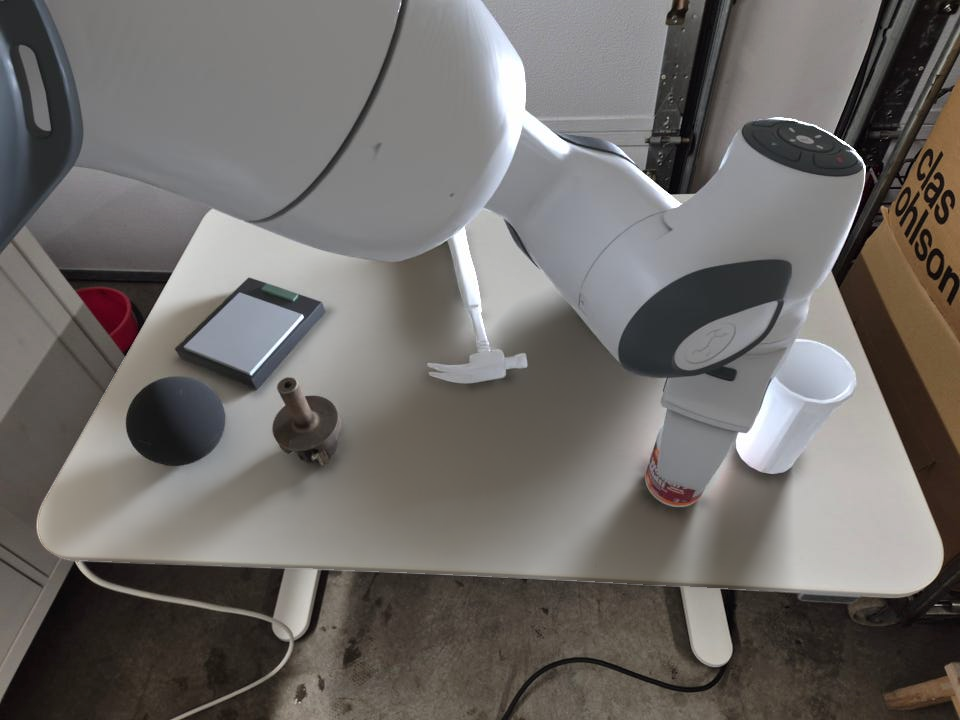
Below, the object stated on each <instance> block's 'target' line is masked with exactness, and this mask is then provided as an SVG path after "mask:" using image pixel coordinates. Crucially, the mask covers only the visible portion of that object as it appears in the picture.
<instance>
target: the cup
mask: <svg viewBox="0 0 960 720" xmlns="http://www.w3.org/2000/svg"><path fill="white" fill-rule="evenodd" d="M857 386H858V382H857V377H856V371H855V368H853V366H852V365H851V363H850V362H849V360H848V359H847V357H846V356H844V355H843V354H841V353H840V352H839V351H838V350H836V349H835V348H833V347H832V346H830V345H827V344H825V343H822V342H819V341H817V340H813V339H812V340H811V339H803V338H796V340H795V341H794V343H793V345H792V347H791V349H790V351H789V353H788V355H787V357H786V359H785V361H784V363H783V364H782V366H781V368H780V370H779V371H778V373H777V374H776V376H775V377H774V378H773V380H772V381H771V382H770V384H769V386H768V389H767V391H766V394H765V397H764V400H763V403H762V406H761V408H760V411H759V413H758V415H757V417H756V420H755V422H754V424H753V426H752V428H751V430H750V431H749V432H748V433H741V432H738V435H737V437H736V439H735V449H736V452H737V453H738V455H739V458H740V459H741V460H742V461H743V462H744V463H745V464H746V465H747V466H749V467H750V468H751V469H754V470H756V471H758V472H760V473H764V474H771V475H776V474H781V473H782V474H783V473H786V471H789V469H791V468H792V467H793V466H794V464H795V462H796V461H797V460H798V458H799V457H800V456H801V454H802V453H803V452H804V450H805V449H806V447H807V446H808V445H809V444H810V443H811V441H812V440H813V438H814V437H815V436H816V434H817V433H818V432H819V431H820V429H821V428H822V427H823V425H824V424H825V423H826V422H827V420H828V419H829V418H830V417H831V415H832V414H833V412H834V411H835V410H837V409H839V408H840V407H841V406H843V405H844V404H846V403H847V402H848V401H849V400H850V399H851V398H852V397H853V396H854V393H855V390H856V389H857Z"/></svg>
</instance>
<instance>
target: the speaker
mask: <svg viewBox="0 0 960 720" xmlns="http://www.w3.org/2000/svg"><path fill="white" fill-rule="evenodd" d="M226 419H227V418H226V410H225V407H224V404H223V402H222V400H221V398H220V396H219V395H218V393H217V392H216V391H215V390H214V389H213V388H212V387H211V386H210V385H208V384H206V382H205V383H204V382H203V381H201V380H199V379H196V378H194V377H189V376H185V375H183V376H182V375H173V376H172V375H171V376H166V377H162V378H159V379H155V380H154V381H152V382H150V383H148V384H147V385H145V386H144V387H143V388H141V389H140V390H139V391H138V392H137V393H136V395H135V396H134V397H133V399H132V400H131V402H130V403H129V406H128V408H127V411H126V416H125V429H126V435H127V438H128V440H129V442H130V444H131V446H132V447H133V449H135V450H136V452H137V453H138V454H139V455H140V456H142V457H143V458H144V459H146V460H148V461H149V462H152V463H154V464H158V465H161V466H167V467H180V466H185V465H190V464H192V463H195V462H198V461H199V460H201V459H203V458H204V457H206V456H208V455H209V454H210V453H211V452H212V451H213V450H214V449H215V448H216V446H217V445H218V444H219V443H220V441H221V439H222V437H223V435H224V432H225V428H226Z"/></svg>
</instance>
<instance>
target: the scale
mask: <svg viewBox="0 0 960 720" xmlns="http://www.w3.org/2000/svg"><path fill="white" fill-rule="evenodd" d="M219 304H220V305H218V306H217V307H216V308H215V309H214V310H213V311H212V312H211V313H210V314H209V315H208V316H206V318H205V319H204V320H203V321H201V323H200V324H199V325H198V326H196V327H195V328H194V330H192V331H191V332H190V333H189V334H188V335H187V336H186V337H185V338H184V339H183V340H182V341H180V343H179V344H178V345H177V346H176V347H175V348H174V351H175V352H176V354H177V356H178V357H179V358H180V360H183V361H186V362H187V363H189V364H190V363H191V364H193V365H196V366H198V367H200V368H202V369H205V370H207V371H210V372H212V373H215V374H217V375H219V376H222V377H224V378H227V379H229V380H231V381H234V382H236V383H239V384H241V385H244V386H246V387H248V388H251V389H254V390H256V391H257V390H258V389H260V387H261V386H262V385H263V384H264V383H265V381H266V380H267V379H268V378H269V377H270V376H271V374H272V373H273V372H274V371H275V370H276V369H277V368H278V367H279V366H280V365H281V364H282V362H283V361H284V360H285V359H286V358H287V356H288V355H289V354H290V353H291V352H292V351H293V349H294V348H295V347H296V346H297V345H298V344H299V343H300V341H302V340H303V338H304V337H305V336H306V335H307V334H308V333H309V331H310V330H311V329H312V328H313V327H314V326H315V324H317V322H318V321H319V320H320V319H321V318H322V317H323V316H324V314H325V313H326V310H325V306H324V304H323V302H322V301H321V300H318V299H315V298H311V297H309V296H305V295H303V294H300V293H297V292H293V291H290V290H288V289H286V288H283V287H279V286H276V285H273V284H270V283H267V282H264V281H261V280H258V279H255V278H252V277H247V278H246V279H245V280H244V281H243V282H242V283H241V284H240V285H239V286H238V287H237V288H235V290H234V291H233V292H232V293H231V294H230V295H229V296H228V297H226V298H225V299H224V301H222V303H219Z"/></svg>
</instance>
